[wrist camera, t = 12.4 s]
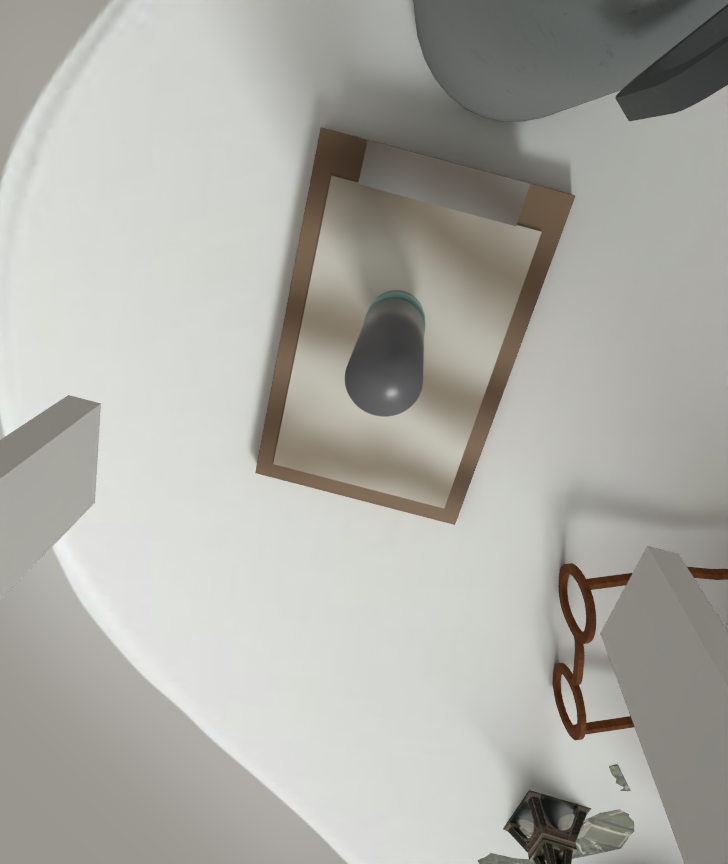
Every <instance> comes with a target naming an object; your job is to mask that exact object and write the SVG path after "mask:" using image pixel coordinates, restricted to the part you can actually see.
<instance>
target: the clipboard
mask: <svg viewBox="0 0 728 864" xmlns="http://www.w3.org/2000/svg"><path fill="white" fill-rule="evenodd" d="M574 198H575V196H574V195H571V194H567V193H563V192H559V191H556V190H552V189H548V188H545V187H541V186H537V185H533V184H530V183H526V182H523V181H519V180H515V179H511V178H508V177H504V176H500V175H496V174H493V173H489V172H485V171H482V170H478V169H474V168H470V167H467V166H463V165H459V164H456V163H452V162H448V161H444V160H441V159H437V158H433V157H429V156H426V155H422V154H418V153H415V152H411V151H407V150H403V149H400V148H396V147H392V146H388V145H385V144H381V143H377V142H374V141H370V140H366V139H362V138H358V137H355V136H351V135H347V134H343V133H340V132H336V131H332V130H328V129H325V128H321V129H320V134H319V139H318V145H317V150H316V155H315V161H314V166H313V171H312V176H311V182H310V187H309V192H308V198H307V203H306V208H305V213H304V219H303V224H302V229H301V235H300V240H299V245H298V250H297V256H296V261H295V266H294V272H293V277H292V282H291V287H290V293H289V298H288V303H287V309H286V314H285V319H284V324H283V330H282V335H281V340H280V346H279V351H278V356H277V361H276V367H275V372H274V377H273V383H272V388H271V393H270V398H269V404H268V409H267V414H266V420H265V425H264V430H263V435H262V441H261V446H260V451H259V457H258V462H257V467H256V472H255V473H258V474H261V475H265V476H269V477H273V478H277V479H281V480H284V481H288V482H292V483H296V484H300V485H304V486H308V487H311V488H315V489H319V490H323V491H327V492H331V493H335V494H338V495H342V496H346V497H350V498H354V499H358V500H361V501H365V502H369V503H373V504H377V505H381V506H385V507H388V508H392V509H396V510H400V511H404V512H408V513H412V514H415V515H419V516H423V517H427V518H431V519H435V520H438V521H442V522H446V523H450V524H454V525H455V523H456V520H457V518H458V515H459V512H460V509H461V507H462V504H463V501H464V498H465V496H466V493H467V490H468V488H469V485H470V482H471V479H472V477H473V474H474V471H475V468H476V466H477V463H478V460H479V458H480V455H481V452H482V449H483V447H484V444H485V441H486V438H487V436H488V433H489V430H490V428H491V425H492V422H493V419H494V417H495V414H496V411H497V408H498V406H499V403H500V400H501V397H502V395H503V392H504V389H505V387H506V384H507V381H508V378H509V376H510V373H511V370H512V367H513V365H514V362H515V359H516V357H517V354H518V351H519V348H520V346H521V343H522V340H523V337H524V335H525V332H526V329H527V327H528V324H529V321H530V318H531V316H532V313H533V310H534V307H535V305H536V302H537V299H538V296H539V294H540V291H541V288H542V286H543V283H544V280H545V277H546V275H547V272H548V269H549V266H550V264H551V261H552V258H553V256H554V253H555V250H556V247H557V245H558V242H559V239H560V236H561V234H562V231H563V228H564V226H565V223H566V220H567V217H568V215H569V212H570V209H571V206H572V204H573V201H574ZM392 290H401V291H405V292H408V293H410V294H411V295H413V296H414V297H415V298H416V299H417V300H418V301H419V302H420V304H421V306H422V308H423V310H424V313H425V334H424V365H423V386H422V391H421V393H420V396H419V397H418V399H417V401H416V402H415V403H414V404H413V405H412V406H411V407H410V408H409V409H408V410H406V411H404V412H402V413H400V414H397V415H394V416H386V417H383V416H375V415H372V414H369V413H367V412H365V411H363V410H362V409H360V408H359V407H358V406H357V405H356V404H355V403H354V402H353V401H352V400H351V398H350V396H349V395H348V392H347V390H346V386H345V371H346V367H347V365H348V362H349V360H350V357H351V354H352V352H353V349H354V347H355V344H356V342H357V339H358V337H359V334H360V332H361V329H362V327H363V324H364V321H365V317H366V314H367V312H368V309H369V307H370V305H371V304H372V303H373V301H374V300H375V299H376V298H377V297H378V296H380V295H381V294H383V293H385V292H388V291H392Z"/></svg>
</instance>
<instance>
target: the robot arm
mask: <svg viewBox="0 0 728 864" xmlns="http://www.w3.org/2000/svg"><path fill="white" fill-rule="evenodd" d="M100 408H101V404H100V403H96V402H93V401H89V400H85V399H81V398H77V397H73V396H70V395H68V396H67V397H65V398H63V399H62V400H60V401H59V402H57V403H56V404H54V405H53V406H51V407H50V408H48V409H47V410H45V411H44V412H42V413H41V414H39V415H38V416H36V417H35V418H33V419H32V420H30V421H28V422H27V423H25V424H24V425H22V426H21V427H19V428H18V429H16V430H15V431H13V432H12V433H10V434H9V435H7V436H6V437H4V438H3V439H1V440H0V600H1V599H2V598H3V597H4V596H5V595H6V594H7V593H8V592H9V590H11V588H13V586H14V585H15V584H16V583H17V582H18V581H19V580H20V579H21V578H22V577H23V576H24V575H25V574H26V573H27V572H28V571H29V570H30V569H31V568H32V567H33V566H34V565H35V564H36V563H37V562H38V561H39V560H40V559H41V558H42V557H43V556H44V554H46V552H47V551H48V550H49V549H50V548H51V547H52V546H53V545H54V544H55V543H56V542H57V541H58V540H59V539H60V538H61V537H62V536H63V535H64V534H65V533H66V532H67V531H68V530H69V529H70V528H71V527H72V526H73V525H74V524H75V523H76V522H77V520H78V519H79V518H80V517H81V516H82V515H83V514H84V513H85V512H86V511H87V510H88V509H89V508H90V507H91V506H92V505H93V504H94V503H95V491H96V474H97V458H98V441H99V425H100ZM601 636H602V639H603V642H604V644H605V647H606V650H607V653H608V655H609V658H610V661H611V663H612V666H613V669H614V672H615V674H616V677H617V680H618V683H619V685H620V688H621V691H622V694H623V696H624V699H625V702H626V705H627V707H628V710H629V713H630V715H631V718H632V721H633V724H634V726H635V729H636V732H637V735H638V737H639V740H640V743H641V746H642V748H643V751H644V754H645V757H646V759H647V762H648V765H649V767H650V770H651V773H652V776H653V778H654V781H655V784H656V787H657V789H658V792H659V795H660V798H661V800H662V803H663V806H664V808H665V811H666V814H667V817H668V819H669V822H670V825H671V828H672V830H673V833H674V836H675V839H676V841H677V844H678V847H679V850H680V852H681V855H682V858H683V860H684V863H685V864H728V631H727V629H726V627H725V626H724V624H723V623H722V621H721V620H720V618H719V616H718V615H717V613H716V612H715V610H714V609H713V607H712V605H711V604H710V602H709V601H708V599H707V598H706V596H705V594H704V593H703V591H702V590H701V588H700V587H699V585H698V584H697V582H696V580H695V579H694V577H693V576H692V574H691V573H690V571H689V569H688V568H687V566H686V565H685V563H684V562H683V560H682V558H681V557H680V555H679V554H676V553H672V552H668V551H665V550H661V549H657V548H653V547H649V546H647V548H646V549H645V551H644V553H643V555H642V557H641V559H640V561H639V562H638V564H637V566H636V568H635V570H634V572H633V574H632V575H631V577H630V579H629V581H628V583H627V585H626V587H625V589H624V590H623V592H622V594H621V596H620V598H619V600H618V602H617V603H616V605H615V607H614V609H613V611H612V613H611V615H610V616H609V618H608V620H607V622H606V624H605V626H604V628H603V629H602V631H601Z"/></svg>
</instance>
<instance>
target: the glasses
mask: <svg viewBox="0 0 728 864" xmlns="http://www.w3.org/2000/svg"><path fill="white" fill-rule="evenodd" d="M687 568H688V569H689V571H690V573H691V574H692V576H693V577H694V578H704V579H715V580H725V579H728V569H704V568H694V567H687ZM570 574H571V575H572V576H573V577H574V578H575V580H576V581H577V583H578V585H579V587H580V589H581V592H582V595H583V598H584V602H585V608H586V626H585V630H584V632H582V631H581V630H580V628H579V627H578V625H577V623H576V622H575V619H574V617H573V615H572V612H571V610H570V606H569V602H568V595H567V582H568V577H569V575H570ZM632 574H633V573H629V574H621V575H613V576H606V577H598V578H591V579H586V578H585V576H584V575H583V573H582V572H581V570H580V569H579V568H578V567H577V566H576V565H575V564H572V563H571V564H564V565H563V566H562V567H561V570H560V574H559V597H560V603H561V608H562V611H563V614H564V617H565V619H566V622H567V624H568V626H569V628H570V630H571V632H572V634H573V636H574V640H575V657H574V670H573V674H572V672H571V671H570V669H569V668H568V667H567V666H566V665H565V664H564V663H559V664H556V665H555V667H554V670H553V689H554V696H555V701H556V705H557V708H558V711H559V714H560V717H561V719H562V722H563V724H564V726H565V728H566V730H567V732H568V733H569V735H570V736H571V737H572V738H573V739H574V740H581V739H583V738H584V736H585V734H591V733H598V732H605V731H612V730H618V729H625V728H632V727H635V726H634V724H633V721H632V718H631V716H630V717H623V718H616V719H609V720H602V721H596V722H589V723H586V712H585V706H584V701H583V696H582V693H581V690H580V687H579V685H580V684H581V682H582V678H583V667H584V646H583V644H586V643H589V642H591V641H592V640H593V638H594V635H595V630H596V611H595V604H594V600H593V596H592V593H591V590H593V589H601V588H608V587H616V586H623V585H627V583H628V581H629V579H630V577H631V575H632ZM562 674H563V675H564V677H565V678H566V680H567V681H568V683H569V685H570V687H571V690H572V692H573V695H574V699H575V703H576V708H577V724H575V725H573V724H572V723H571V721H570V719H569V717H568V715H567V712H566V709H565V706H564V703H563V699H562V694H561V675H562Z"/></svg>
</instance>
